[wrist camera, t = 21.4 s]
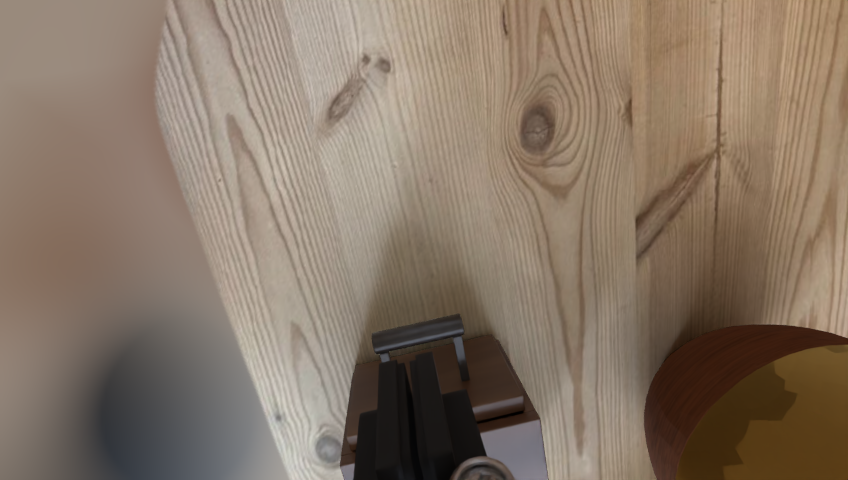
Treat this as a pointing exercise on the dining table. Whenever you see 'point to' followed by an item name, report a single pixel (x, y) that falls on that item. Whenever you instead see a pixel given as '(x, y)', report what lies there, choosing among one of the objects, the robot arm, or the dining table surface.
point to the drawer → (441, 370)
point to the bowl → (751, 406)
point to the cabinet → (494, 440)
